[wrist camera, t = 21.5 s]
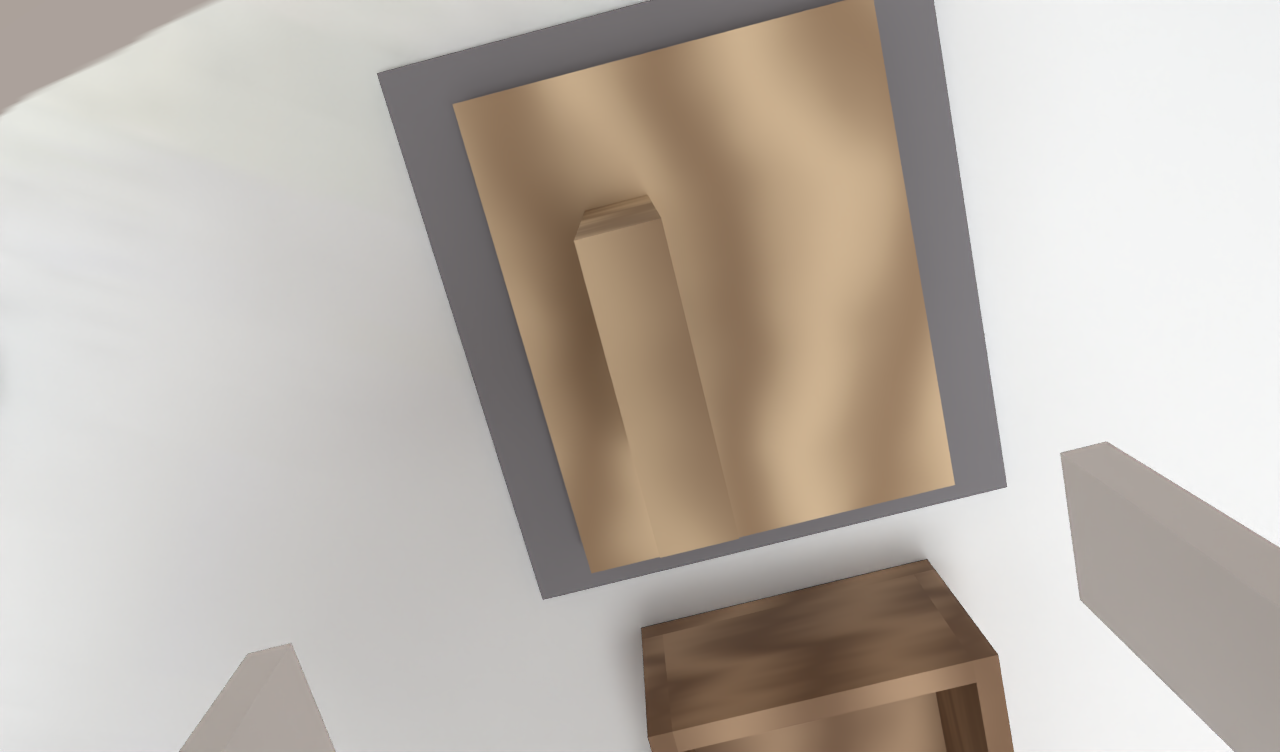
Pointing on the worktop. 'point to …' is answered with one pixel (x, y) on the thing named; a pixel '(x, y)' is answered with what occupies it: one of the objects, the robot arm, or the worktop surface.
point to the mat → (474, 283)
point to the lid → (716, 283)
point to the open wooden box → (829, 672)
